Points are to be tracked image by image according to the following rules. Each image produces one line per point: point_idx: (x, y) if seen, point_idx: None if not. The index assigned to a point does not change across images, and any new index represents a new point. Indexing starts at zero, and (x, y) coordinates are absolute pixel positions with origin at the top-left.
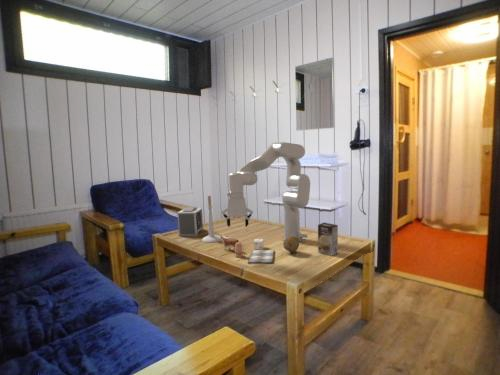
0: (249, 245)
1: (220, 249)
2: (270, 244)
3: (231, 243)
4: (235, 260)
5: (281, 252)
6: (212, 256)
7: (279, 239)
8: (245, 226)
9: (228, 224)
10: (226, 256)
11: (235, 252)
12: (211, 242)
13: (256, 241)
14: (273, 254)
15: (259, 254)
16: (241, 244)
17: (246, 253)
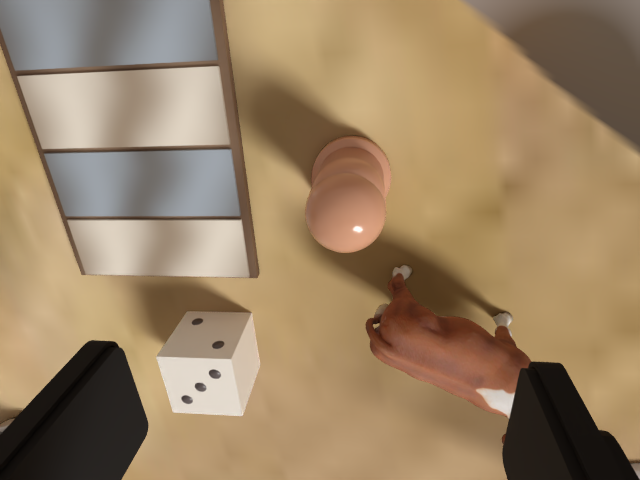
0: (309, 392)
1: (546, 325)
2: (164, 400)
3: (445, 322)
4: (364, 45)
5: (32, 253)
6: (626, 151)
7: (136, 472)
8: (119, 348)
9: (570, 408)
10: (473, 155)
11: (382, 174)
12: (634, 465)
13: (209, 360)
14: (56, 190)
15: (164, 180)
16: (306, 211)
17: (296, 232)
